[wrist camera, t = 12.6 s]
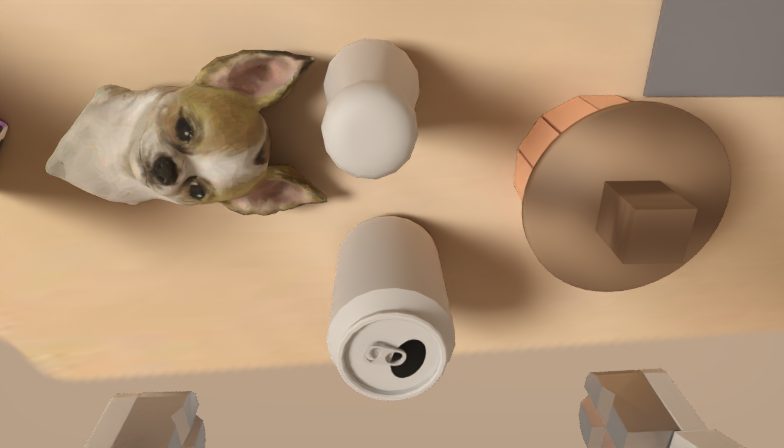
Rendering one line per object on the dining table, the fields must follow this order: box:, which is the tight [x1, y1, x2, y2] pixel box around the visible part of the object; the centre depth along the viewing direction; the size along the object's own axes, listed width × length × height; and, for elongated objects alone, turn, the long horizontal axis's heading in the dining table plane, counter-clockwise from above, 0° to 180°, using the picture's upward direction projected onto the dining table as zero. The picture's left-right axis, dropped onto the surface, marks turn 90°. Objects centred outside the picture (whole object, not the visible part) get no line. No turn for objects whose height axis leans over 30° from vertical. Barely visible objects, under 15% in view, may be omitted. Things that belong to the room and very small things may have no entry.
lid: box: [522, 101, 731, 292], centre depth 30 cm, size 12×12×5 cm
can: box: [327, 216, 455, 401], centre depth 35 cm, size 8×8×12 cm
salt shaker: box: [321, 38, 420, 179], centre depth 28 cm, size 6×6×13 cm
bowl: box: [514, 95, 630, 201], centre depth 35 cm, size 10×10×6 cm
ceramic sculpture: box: [45, 50, 327, 216], centre depth 32 cm, size 11×9×15 cm
